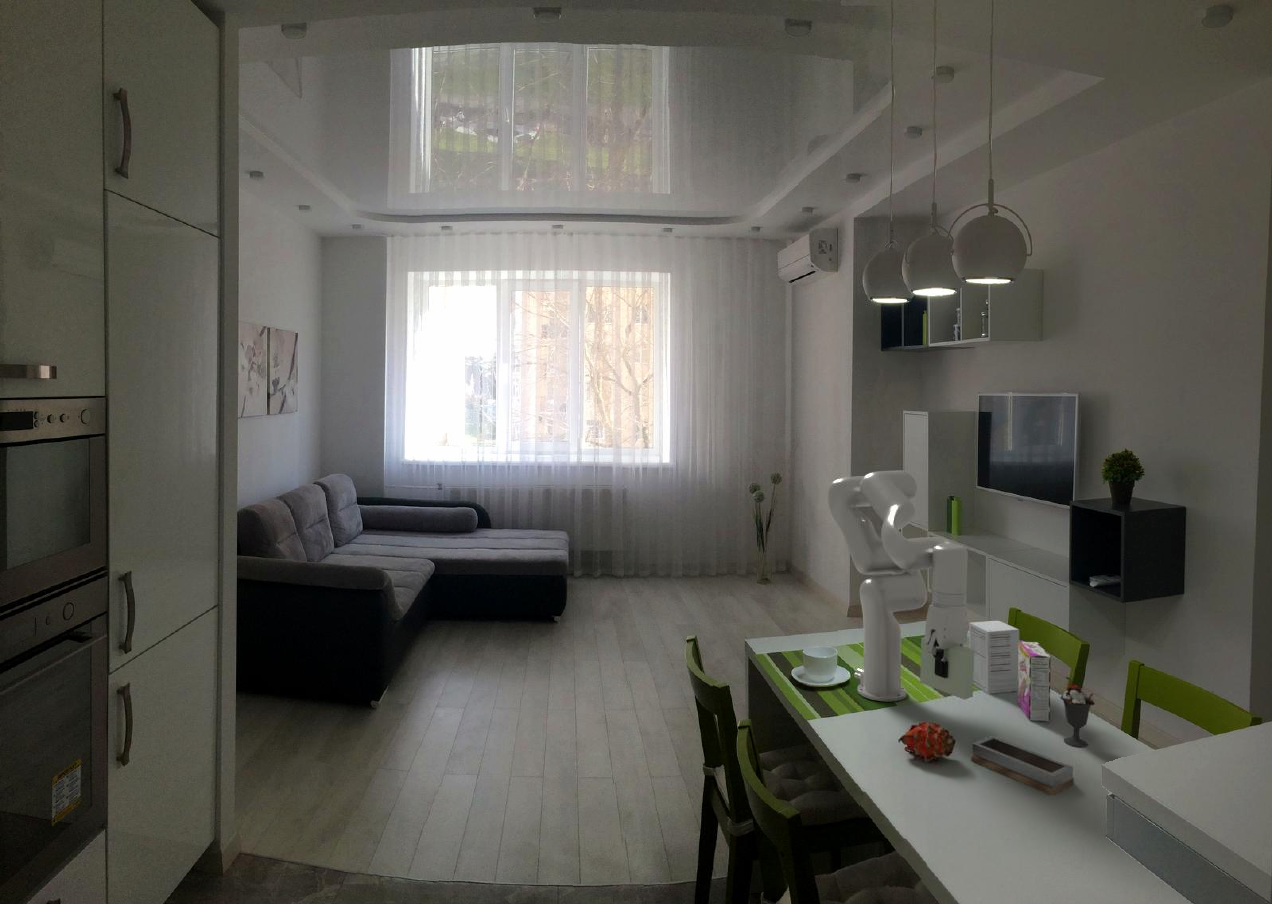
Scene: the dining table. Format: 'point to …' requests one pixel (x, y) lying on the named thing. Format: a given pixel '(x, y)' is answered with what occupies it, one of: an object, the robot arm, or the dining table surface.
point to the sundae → (1076, 712)
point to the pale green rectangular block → (950, 671)
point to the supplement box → (994, 656)
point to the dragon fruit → (928, 741)
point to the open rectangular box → (1022, 764)
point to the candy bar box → (1034, 681)
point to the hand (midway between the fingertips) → (946, 673)
